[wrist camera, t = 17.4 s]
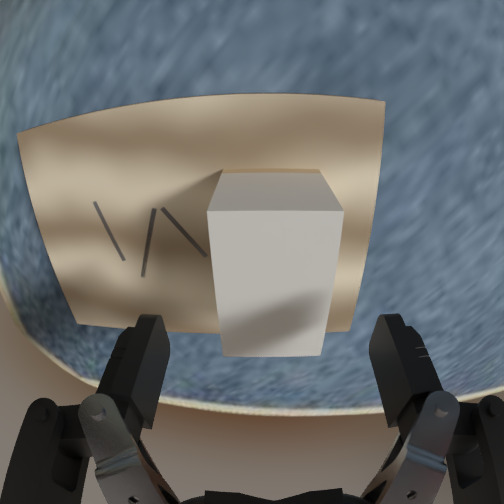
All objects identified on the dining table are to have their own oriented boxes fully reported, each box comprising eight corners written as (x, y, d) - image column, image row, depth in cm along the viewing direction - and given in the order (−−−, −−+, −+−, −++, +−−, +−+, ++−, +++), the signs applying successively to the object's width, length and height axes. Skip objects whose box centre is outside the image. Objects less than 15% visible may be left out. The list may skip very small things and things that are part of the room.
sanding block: (223, 169, 16) (206, 211, 11) (318, 168, 16) (344, 211, 11) (231, 290, 20) (223, 356, 15) (308, 290, 20) (320, 355, 15)
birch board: (30, 128, 15) (16, 133, 14) (375, 99, 15) (385, 101, 13) (84, 312, 24) (77, 323, 22) (345, 317, 23) (349, 331, 22)
